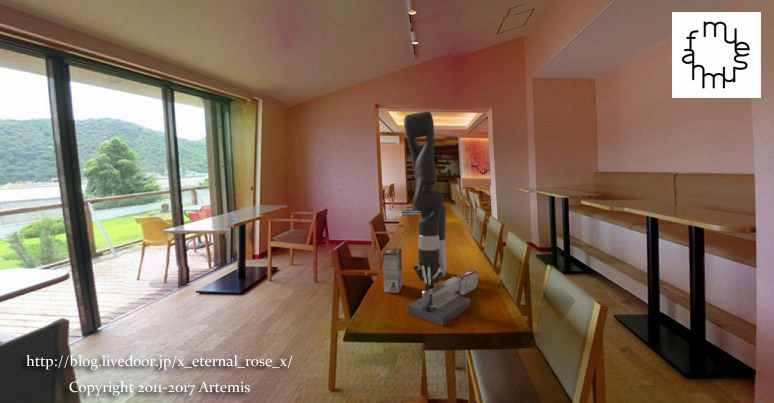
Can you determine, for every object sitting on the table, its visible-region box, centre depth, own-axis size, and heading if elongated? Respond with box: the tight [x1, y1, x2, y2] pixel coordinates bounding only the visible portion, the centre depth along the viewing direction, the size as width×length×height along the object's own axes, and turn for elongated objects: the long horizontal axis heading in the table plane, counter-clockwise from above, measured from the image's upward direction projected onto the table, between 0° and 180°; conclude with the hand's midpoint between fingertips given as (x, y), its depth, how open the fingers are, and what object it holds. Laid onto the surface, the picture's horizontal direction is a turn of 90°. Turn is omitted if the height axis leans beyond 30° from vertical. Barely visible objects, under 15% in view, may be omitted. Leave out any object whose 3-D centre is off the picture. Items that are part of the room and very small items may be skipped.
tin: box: [454, 269, 480, 297], centre depth 128 cm, size 15×3×8 cm, turn 133°
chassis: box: [407, 289, 471, 327], centre depth 112 cm, size 18×14×9 cm
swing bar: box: [429, 275, 461, 306], centre depth 115 cm, size 19×3×4 cm, turn 139°
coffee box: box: [382, 247, 403, 294], centre depth 134 cm, size 9×6×16 cm
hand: (429, 293), depth 117 cm, fingers closed
